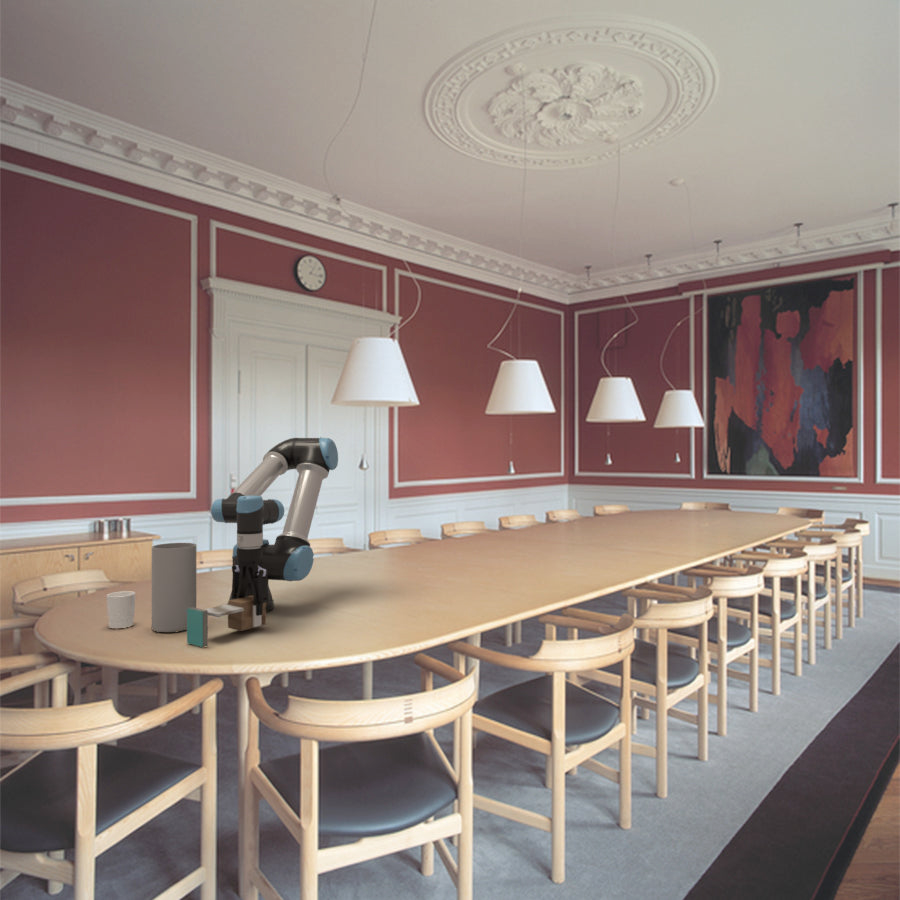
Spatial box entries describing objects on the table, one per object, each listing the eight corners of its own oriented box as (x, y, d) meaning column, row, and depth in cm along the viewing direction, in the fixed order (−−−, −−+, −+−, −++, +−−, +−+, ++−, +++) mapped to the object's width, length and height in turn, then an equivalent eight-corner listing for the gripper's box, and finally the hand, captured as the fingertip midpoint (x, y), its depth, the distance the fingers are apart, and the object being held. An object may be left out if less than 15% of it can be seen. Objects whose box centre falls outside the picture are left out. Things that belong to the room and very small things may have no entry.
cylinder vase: (165, 621, 205) (165, 542, 205) (203, 623, 204) (203, 543, 204) (143, 633, 193) (143, 548, 193) (183, 634, 192) (183, 549, 192)
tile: (186, 643, 182) (186, 608, 182) (191, 642, 184) (191, 607, 184) (202, 648, 178) (202, 611, 178) (207, 646, 180) (207, 610, 180)
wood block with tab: (250, 620, 201) (250, 594, 201) (268, 624, 197) (268, 598, 197) (199, 634, 186) (199, 606, 186) (217, 638, 182) (217, 609, 182)
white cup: (141, 623, 203) (141, 591, 203) (123, 630, 195) (123, 597, 195) (119, 622, 205) (119, 590, 205) (100, 629, 197) (100, 596, 197)
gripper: (218, 546, 198) (218, 622, 198) (261, 551, 188) (261, 632, 188) (239, 543, 204) (238, 617, 204) (281, 548, 194) (281, 626, 194)
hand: (249, 624), depth 196 cm, fingers closed on wood block with tab, 6 cm apart
